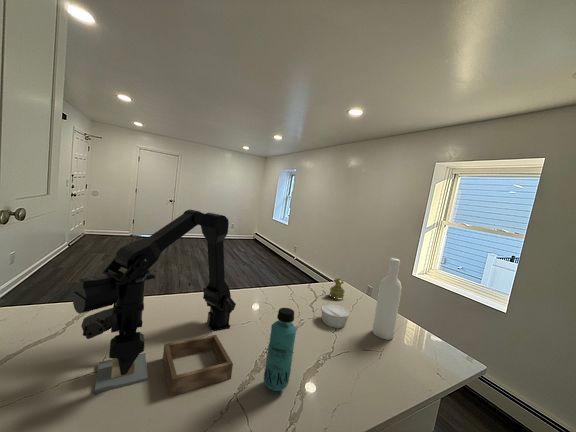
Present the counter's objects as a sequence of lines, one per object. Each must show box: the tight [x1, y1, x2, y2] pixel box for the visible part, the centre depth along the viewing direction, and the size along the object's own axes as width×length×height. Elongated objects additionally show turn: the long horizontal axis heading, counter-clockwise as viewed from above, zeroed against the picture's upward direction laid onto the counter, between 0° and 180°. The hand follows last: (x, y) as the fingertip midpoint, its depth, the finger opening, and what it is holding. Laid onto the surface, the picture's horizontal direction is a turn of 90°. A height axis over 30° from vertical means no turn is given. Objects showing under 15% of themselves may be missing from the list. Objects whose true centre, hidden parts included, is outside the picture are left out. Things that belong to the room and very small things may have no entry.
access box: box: [162, 334, 234, 397], centre depth 65 cm, size 14×14×4 cm
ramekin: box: [321, 303, 350, 329], centre depth 102 cm, size 11×11×5 cm
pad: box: [94, 352, 149, 394], centre depth 60 cm, size 10×10×1 cm
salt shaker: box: [329, 278, 346, 301], centre depth 130 cm, size 7×7×10 cm
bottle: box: [372, 257, 403, 341], centre depth 97 cm, size 8×8×30 cm
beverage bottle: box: [263, 307, 297, 392], centre depth 62 cm, size 6×7×20 cm
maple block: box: [111, 358, 135, 378], centre depth 60 cm, size 4×4×6 cm
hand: (123, 361), depth 60 cm, fingers open, 9 cm apart
